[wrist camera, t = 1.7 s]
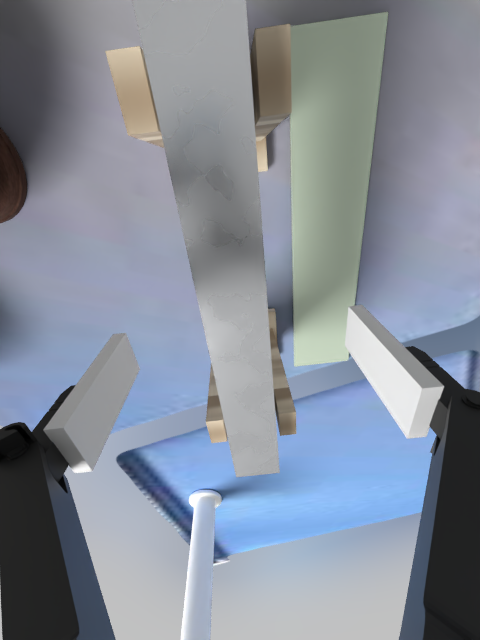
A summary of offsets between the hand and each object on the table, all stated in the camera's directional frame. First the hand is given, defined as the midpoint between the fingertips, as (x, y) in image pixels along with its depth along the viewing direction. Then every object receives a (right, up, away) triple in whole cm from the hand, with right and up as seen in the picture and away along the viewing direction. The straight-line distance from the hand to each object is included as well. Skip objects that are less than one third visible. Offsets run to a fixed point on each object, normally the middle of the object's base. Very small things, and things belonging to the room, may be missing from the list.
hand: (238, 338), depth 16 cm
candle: (-7, -38, +42) cm, 57 cm away
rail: (0, +3, +5) cm, 6 cm away
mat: (+10, +10, +15) cm, 21 cm away
